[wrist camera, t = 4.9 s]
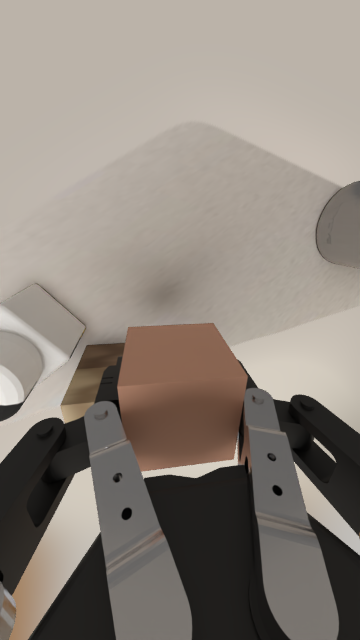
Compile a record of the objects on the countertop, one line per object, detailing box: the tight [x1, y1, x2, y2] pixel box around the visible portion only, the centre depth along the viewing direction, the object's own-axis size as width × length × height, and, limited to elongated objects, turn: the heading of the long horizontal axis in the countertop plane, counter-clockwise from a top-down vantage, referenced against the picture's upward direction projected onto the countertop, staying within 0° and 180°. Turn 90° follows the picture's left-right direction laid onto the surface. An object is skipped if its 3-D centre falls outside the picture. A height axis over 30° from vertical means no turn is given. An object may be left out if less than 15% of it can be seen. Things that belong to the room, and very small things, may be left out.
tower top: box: [60, 367, 107, 423], centre depth 22 cm, size 5×5×5 cm
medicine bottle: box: [0, 284, 86, 421], centre depth 20 cm, size 7×7×12 cm
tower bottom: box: [77, 343, 125, 369], centre depth 26 cm, size 5×5×5 cm
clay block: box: [117, 323, 248, 471], centre depth 12 cm, size 5×5×5 cm
